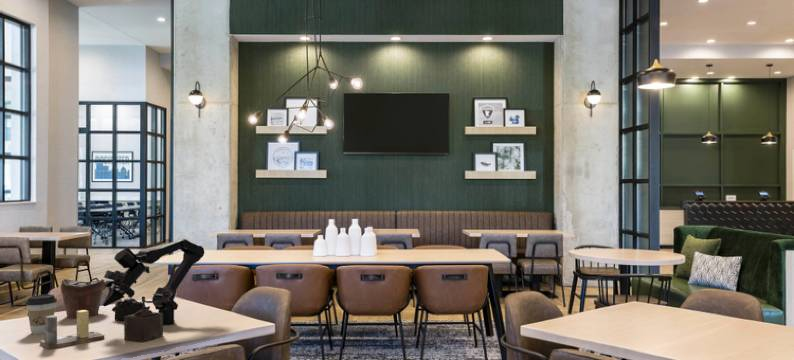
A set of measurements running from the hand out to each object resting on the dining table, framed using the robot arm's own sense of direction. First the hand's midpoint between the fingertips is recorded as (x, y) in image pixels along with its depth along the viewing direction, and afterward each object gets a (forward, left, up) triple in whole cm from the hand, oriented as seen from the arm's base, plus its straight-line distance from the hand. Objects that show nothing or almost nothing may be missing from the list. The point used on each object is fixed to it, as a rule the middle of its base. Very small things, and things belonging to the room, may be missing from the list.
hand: (103, 305), depth 225 cm
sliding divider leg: (+8, +2, -11) cm, 13 cm away
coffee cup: (+27, -18, -13) cm, 35 cm away
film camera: (-6, -31, -13) cm, 34 cm away
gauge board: (+10, +4, -13) cm, 17 cm away
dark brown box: (-18, +6, -13) cm, 23 cm away
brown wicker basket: (+18, -49, -13) cm, 54 cm away
